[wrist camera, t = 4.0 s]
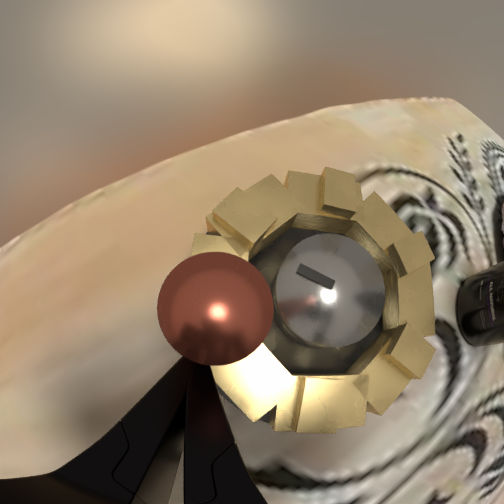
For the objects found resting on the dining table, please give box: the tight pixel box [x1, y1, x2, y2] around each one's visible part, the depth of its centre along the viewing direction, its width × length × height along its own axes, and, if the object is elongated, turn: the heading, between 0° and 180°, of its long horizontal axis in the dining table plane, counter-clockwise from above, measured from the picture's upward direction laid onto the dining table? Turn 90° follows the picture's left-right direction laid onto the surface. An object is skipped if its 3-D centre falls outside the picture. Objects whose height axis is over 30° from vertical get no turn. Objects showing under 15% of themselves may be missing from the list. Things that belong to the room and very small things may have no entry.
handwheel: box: [157, 167, 436, 433], centre depth 11 cm, size 15×15×10 cm
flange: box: [206, 228, 385, 423], centre depth 15 cm, size 16×16×5 cm
